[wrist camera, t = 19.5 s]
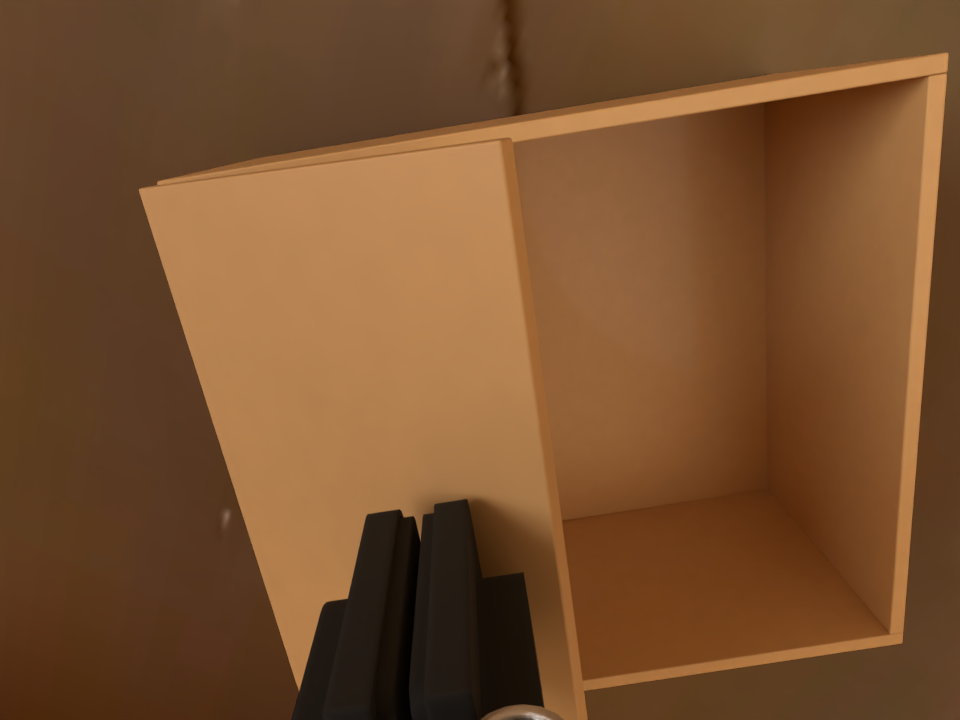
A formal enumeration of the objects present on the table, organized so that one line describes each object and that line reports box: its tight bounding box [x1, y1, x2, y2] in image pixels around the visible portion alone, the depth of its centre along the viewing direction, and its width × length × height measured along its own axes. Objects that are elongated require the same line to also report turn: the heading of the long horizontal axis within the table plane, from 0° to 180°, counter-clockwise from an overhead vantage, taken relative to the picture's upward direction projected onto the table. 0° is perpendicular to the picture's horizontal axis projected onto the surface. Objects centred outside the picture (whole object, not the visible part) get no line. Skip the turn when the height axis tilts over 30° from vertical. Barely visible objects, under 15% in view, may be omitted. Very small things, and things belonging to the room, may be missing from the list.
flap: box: [139, 137, 588, 720], centre depth 13 cm, size 7×14×1 cm, turn 8°
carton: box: [157, 53, 949, 691], centre depth 18 cm, size 15×14×7 cm
